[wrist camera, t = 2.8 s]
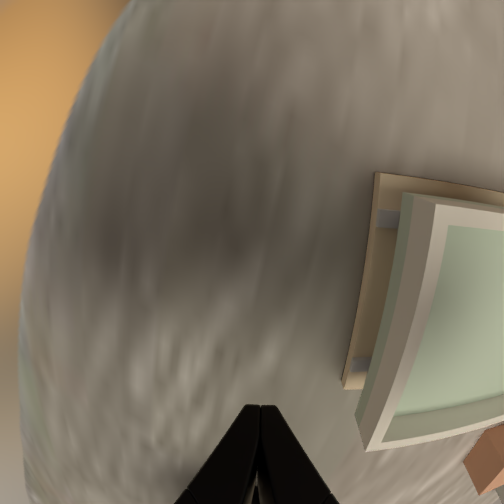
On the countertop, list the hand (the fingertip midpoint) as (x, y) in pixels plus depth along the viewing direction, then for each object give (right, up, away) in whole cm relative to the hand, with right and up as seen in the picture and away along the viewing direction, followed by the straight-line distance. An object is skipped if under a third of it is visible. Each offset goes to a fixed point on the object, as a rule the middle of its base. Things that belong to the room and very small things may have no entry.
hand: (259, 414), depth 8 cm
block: (+24, -15, +13) cm, 31 cm away
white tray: (+11, +2, +6) cm, 13 cm away
